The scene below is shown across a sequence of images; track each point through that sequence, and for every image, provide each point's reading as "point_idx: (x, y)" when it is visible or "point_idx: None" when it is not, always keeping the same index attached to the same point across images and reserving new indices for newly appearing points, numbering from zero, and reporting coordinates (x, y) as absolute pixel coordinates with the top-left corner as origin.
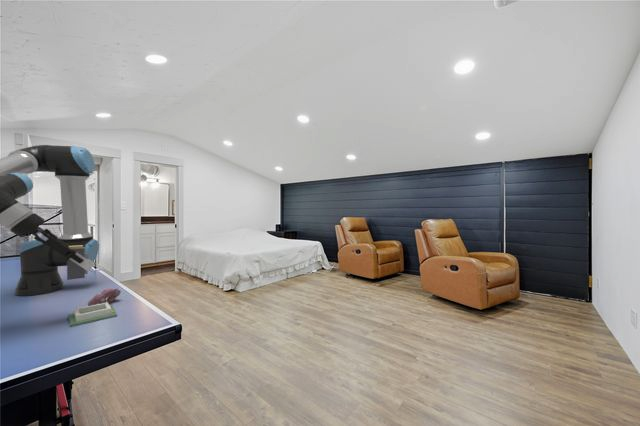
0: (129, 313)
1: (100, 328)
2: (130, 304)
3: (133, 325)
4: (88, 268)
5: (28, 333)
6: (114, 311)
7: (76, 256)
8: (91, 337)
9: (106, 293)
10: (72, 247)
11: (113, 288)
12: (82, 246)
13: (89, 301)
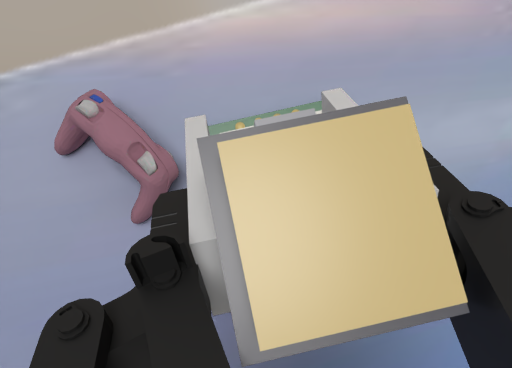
0: (319, 63)
1: (436, 137)
2: (198, 66)
3: (457, 44)
4: None
5: (372, 359)
6: (288, 110)
7: (460, 191)
8: (506, 151)
9: (147, 137)
10: (446, 246)
11: (84, 111)
12: (411, 112)
13: (141, 213)
